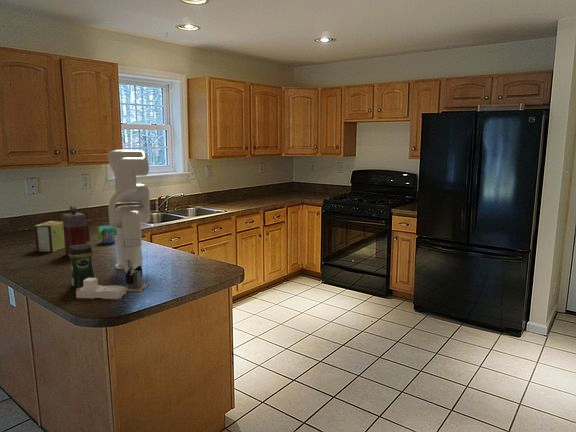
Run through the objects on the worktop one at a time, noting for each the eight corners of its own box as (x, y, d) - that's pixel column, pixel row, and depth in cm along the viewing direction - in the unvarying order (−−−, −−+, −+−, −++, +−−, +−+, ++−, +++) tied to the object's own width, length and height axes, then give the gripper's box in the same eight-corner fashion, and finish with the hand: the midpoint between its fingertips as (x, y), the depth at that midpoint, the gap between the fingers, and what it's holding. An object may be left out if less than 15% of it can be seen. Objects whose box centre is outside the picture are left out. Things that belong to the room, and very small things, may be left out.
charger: (127, 288, 191) (126, 272, 190) (131, 285, 196) (131, 269, 194) (137, 288, 191) (136, 273, 190) (141, 285, 195) (141, 270, 194)
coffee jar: (93, 280, 204) (90, 241, 201) (96, 285, 197) (93, 244, 194) (70, 284, 198) (66, 244, 195) (72, 289, 192) (69, 247, 189)
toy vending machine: (91, 254, 251) (88, 205, 246) (71, 257, 243) (67, 207, 238) (85, 251, 257) (82, 203, 252) (65, 254, 249) (61, 205, 244)
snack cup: (111, 239, 288) (110, 224, 286) (123, 240, 284) (122, 225, 282) (92, 244, 274) (91, 228, 272) (105, 246, 270) (104, 229, 268)
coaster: (129, 284, 198) (129, 283, 198) (148, 285, 197) (148, 284, 197) (120, 291, 189) (120, 290, 189) (140, 292, 189) (140, 290, 189)
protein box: (68, 246, 269) (66, 221, 266) (52, 252, 254) (50, 226, 251) (52, 245, 270) (50, 220, 267) (35, 251, 255) (33, 225, 252)
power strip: (75, 297, 181) (74, 281, 180) (84, 292, 188) (83, 276, 187) (119, 299, 180) (118, 282, 179) (126, 293, 187) (125, 277, 186)
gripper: (132, 237, 199) (134, 274, 201) (115, 246, 182) (117, 286, 184) (148, 238, 198) (150, 274, 201) (132, 247, 181) (134, 286, 184)
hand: (134, 280), depth 193 cm, fingers open, 9 cm apart
